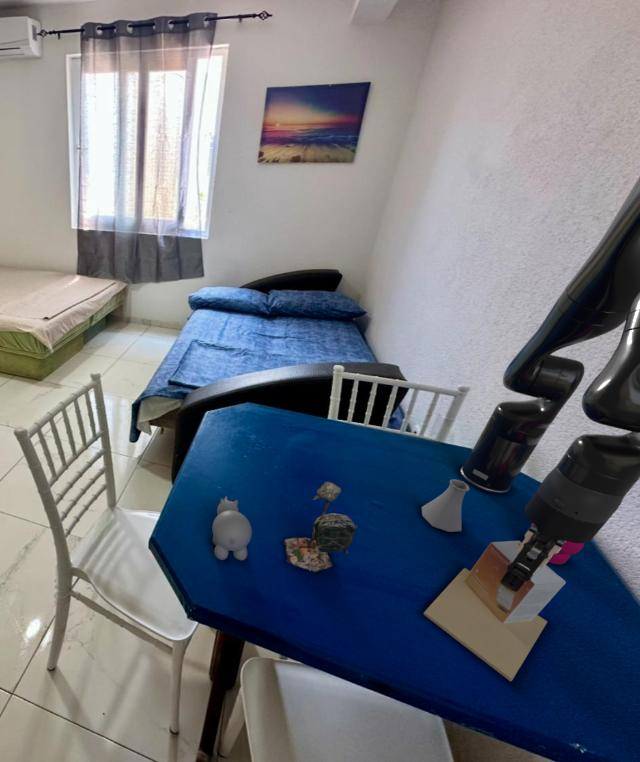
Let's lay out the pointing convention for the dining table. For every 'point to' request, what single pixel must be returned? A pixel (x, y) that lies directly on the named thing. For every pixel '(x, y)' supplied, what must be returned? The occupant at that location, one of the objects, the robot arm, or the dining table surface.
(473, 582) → the small box
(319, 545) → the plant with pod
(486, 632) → the mat
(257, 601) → the dining table surface
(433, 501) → the flask
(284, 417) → the dining table surface
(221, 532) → the round bodied animal figurine
